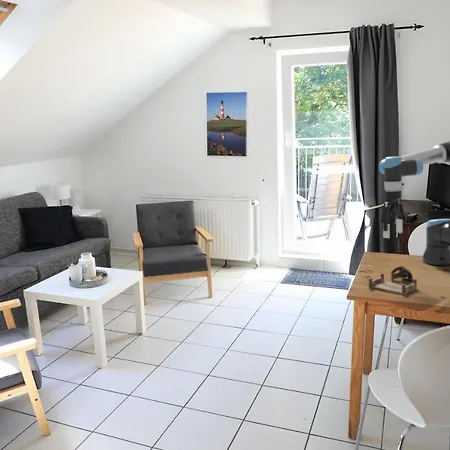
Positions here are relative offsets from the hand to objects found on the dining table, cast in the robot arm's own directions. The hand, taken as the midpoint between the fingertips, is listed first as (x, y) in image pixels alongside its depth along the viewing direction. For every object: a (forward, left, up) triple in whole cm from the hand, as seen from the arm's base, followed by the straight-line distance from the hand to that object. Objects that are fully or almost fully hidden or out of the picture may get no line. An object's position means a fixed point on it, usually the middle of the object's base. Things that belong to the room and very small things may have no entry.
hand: (393, 235), depth 229 cm
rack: (+10, +5, -23) cm, 25 cm away
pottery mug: (-6, +4, -24) cm, 25 cm away
